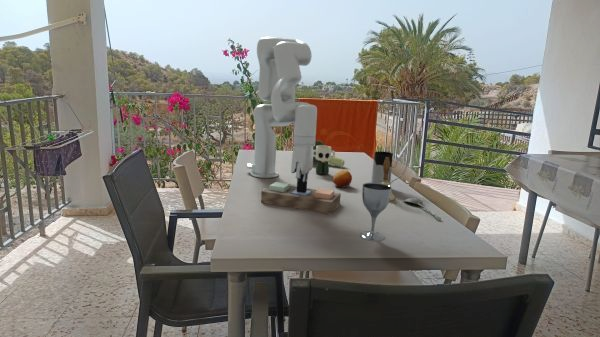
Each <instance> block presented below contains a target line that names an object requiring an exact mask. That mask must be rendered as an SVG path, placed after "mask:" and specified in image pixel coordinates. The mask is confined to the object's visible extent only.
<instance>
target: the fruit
mask: <svg viewBox="0 0 600 337" xmlns="http://www.w3.org/2000/svg"><path fill="white" fill-rule="evenodd" d="M352 176H353V175H352V174H351V172H350V171H349V170H346V169H342V170H339V171H337V172H335V173H334V174H333V176H332V181H333V183H334V185H335V187H338V188H349V186H351V183H352V181H353V180H352V179H353V177H352Z"/></svg>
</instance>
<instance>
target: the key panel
mask: <svg viewBox="0 0 600 337" xmlns="http://www.w3.org/2000/svg"><path fill="white" fill-rule="evenodd" d="M269 188H270V186H268V187H267V188H265V189H263V190H261V191H260V192H261V196H260V202H261V203H265V204H269V203H270V204H271V205H275V206H281V207H282V206H283V207H287V208H293V209H299V210H306V211H313V212H317V213H325V214H330V215H331V214H332V213H333V212H334V211H335V210H336V209H337V207H339V206H340V205H341V195H342V194H341V193H340V192H335V191H334V197H333V198H332V199H331V200H330V199H323V198H317V197H314V192H315V191H316V190H317V189H313V188H308V187H307V190H308V191H311V193H310V194H309V195H308V196H304V195H298V194H291V192H293V191H294V190H296V189H297V186H296V185H295V186H293V185H290V189H289V190H288V191H286V192H279V191H272V190H269Z"/></svg>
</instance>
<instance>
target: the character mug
mask: <svg viewBox="0 0 600 337" xmlns="http://www.w3.org/2000/svg"><path fill="white" fill-rule="evenodd" d="M324 145H325V144H324ZM324 145H320V146H316V150H313V157H316V159H317V160H319V161H316V167H315V173H316V174H318V175H319V174H320V175H322V174H323V175H328V174H329V173H330V169H329V168H330V166H329V163H328V162H327V161H329V160H330V158H334V157H336V156H335V155H336V151H335V150H332V146H329V145H325V146H324ZM314 152H316V155H314Z"/></svg>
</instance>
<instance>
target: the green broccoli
mask: <svg viewBox="0 0 600 337" xmlns="http://www.w3.org/2000/svg"><path fill="white" fill-rule="evenodd" d="M320 145H324V146H326V145H325V143H323V141H321V140H315V146H313V150H316V146H320ZM314 155H316V152H314ZM318 161H319V160H317V159H316V157H313V164H314V163H315V162H318ZM327 162H328V164H330V165H333V166H335V167H337V168H343V167H344V165H345V162H346V161H345V160H344V159H343V158H340V157H338V156H335V157H334V158H330V160H329V161H327Z"/></svg>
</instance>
